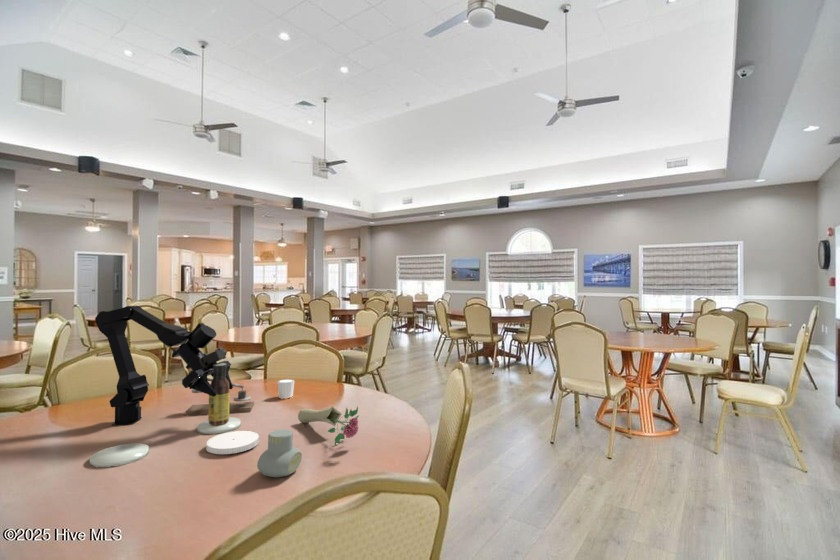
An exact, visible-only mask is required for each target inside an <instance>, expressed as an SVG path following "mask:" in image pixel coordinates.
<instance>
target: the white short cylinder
mask: <svg viewBox="0 0 840 560" xmlns="http://www.w3.org/2000/svg"><path fill="white" fill-rule="evenodd" d="M294 387H295V379H291V378H288V379H285V378H284V379H280V380H278V381H277V390H278V398H289V397H292V396H293V397H294ZM293 397H292V398H293Z"/></svg>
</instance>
